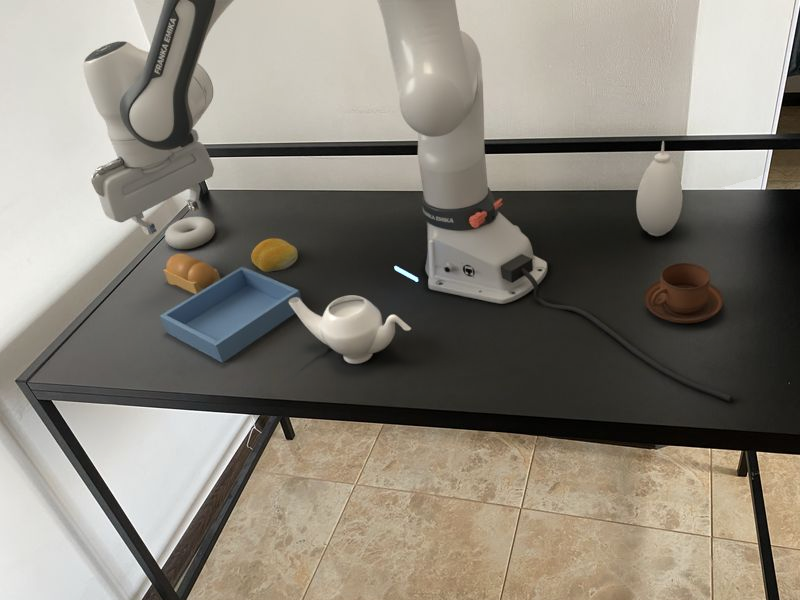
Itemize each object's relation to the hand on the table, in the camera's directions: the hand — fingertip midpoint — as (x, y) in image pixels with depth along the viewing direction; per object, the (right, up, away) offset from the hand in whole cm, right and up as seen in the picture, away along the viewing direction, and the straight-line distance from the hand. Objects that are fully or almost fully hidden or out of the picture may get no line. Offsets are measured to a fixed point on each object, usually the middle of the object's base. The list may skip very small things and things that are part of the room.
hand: (173, 220), depth 132 cm
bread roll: (+15, -6, +12) cm, 20 cm away
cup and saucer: (+86, -16, -13) cm, 89 cm away
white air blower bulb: (+87, -1, +6) cm, 87 cm away
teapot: (+35, -24, -14) cm, 44 cm away
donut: (-5, 0, +22) cm, 23 cm away
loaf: (+1, -10, +8) cm, 13 cm away
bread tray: (+12, -18, -3) cm, 22 cm away
